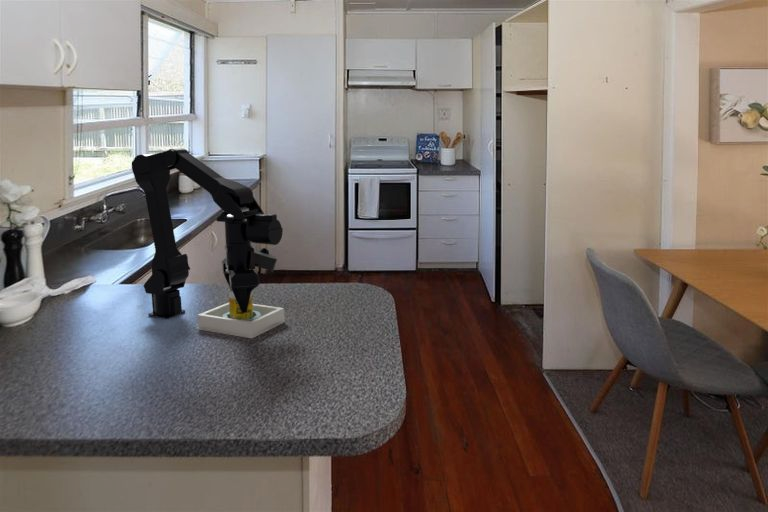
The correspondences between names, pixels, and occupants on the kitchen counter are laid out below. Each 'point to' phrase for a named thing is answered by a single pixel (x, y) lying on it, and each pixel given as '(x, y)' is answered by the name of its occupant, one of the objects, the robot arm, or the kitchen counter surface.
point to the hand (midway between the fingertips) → (241, 306)
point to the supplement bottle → (235, 309)
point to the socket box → (241, 321)
